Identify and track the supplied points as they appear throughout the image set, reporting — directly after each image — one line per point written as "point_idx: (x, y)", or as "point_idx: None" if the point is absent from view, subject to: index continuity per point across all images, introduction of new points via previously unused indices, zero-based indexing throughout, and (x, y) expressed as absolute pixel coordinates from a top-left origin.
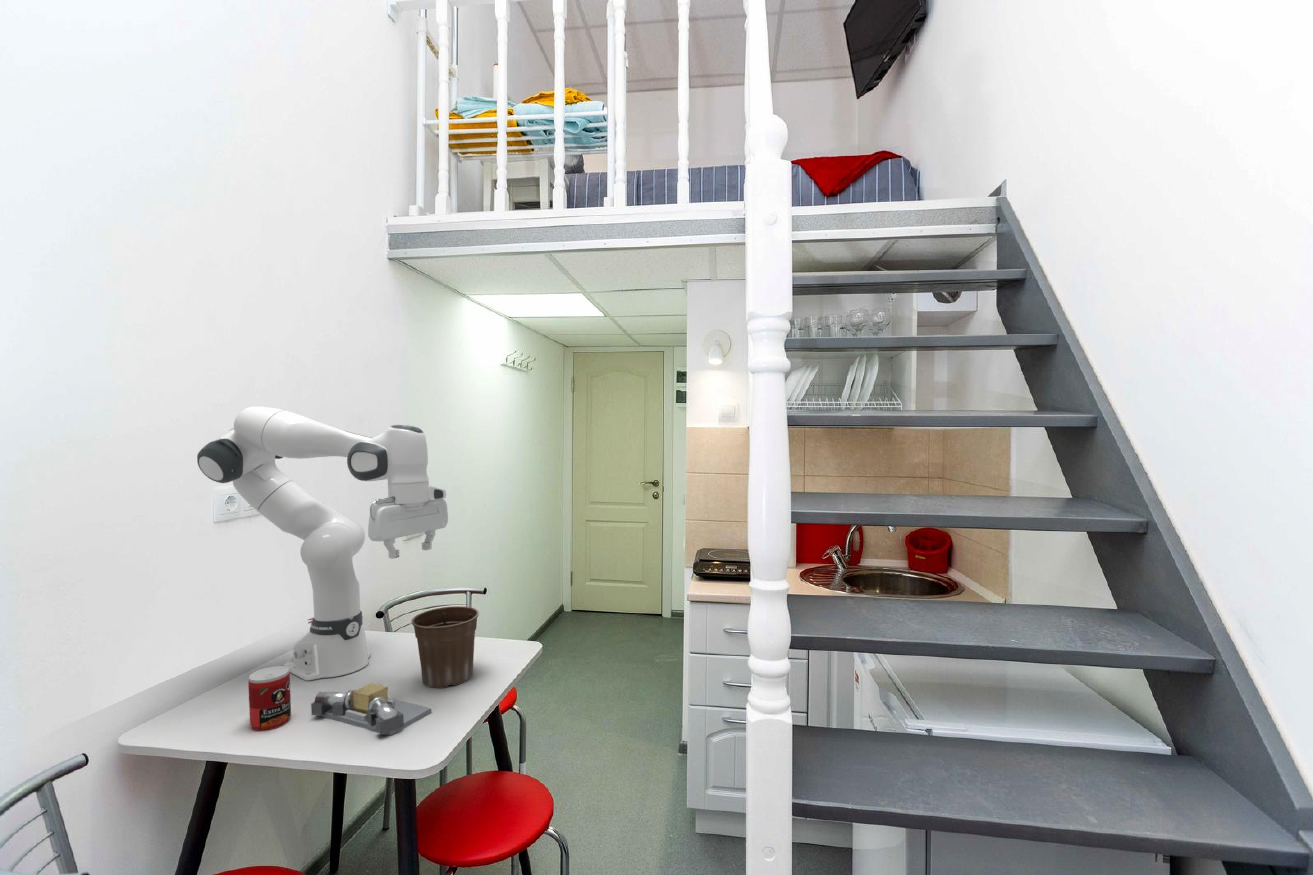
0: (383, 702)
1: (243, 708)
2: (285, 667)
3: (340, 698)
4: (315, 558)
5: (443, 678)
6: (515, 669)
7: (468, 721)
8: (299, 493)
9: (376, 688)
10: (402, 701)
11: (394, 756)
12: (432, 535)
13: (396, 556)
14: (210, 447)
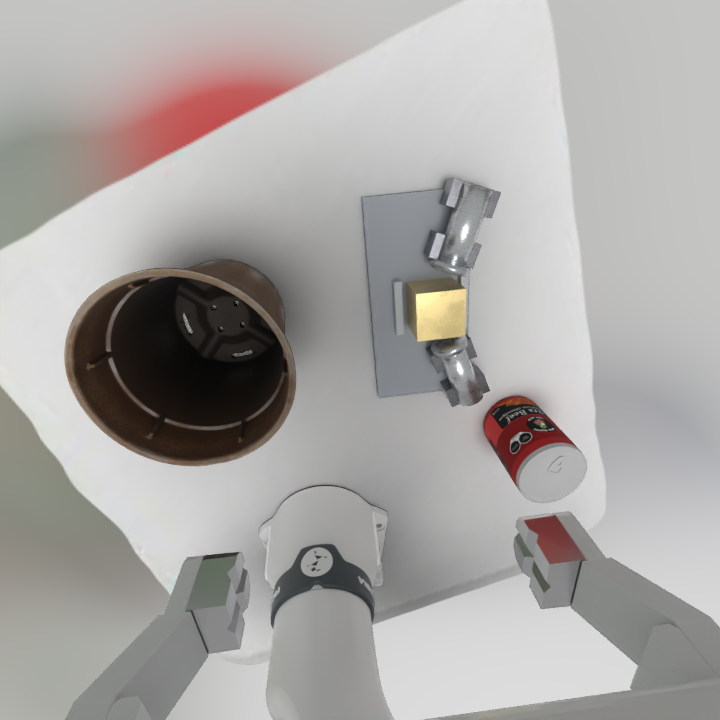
0: (457, 246)
1: (492, 495)
2: (522, 477)
3: (466, 354)
4: None
5: (266, 282)
6: (84, 204)
7: (348, 69)
8: None
9: (433, 306)
10: (371, 284)
11: (526, 96)
12: (121, 690)
13: (550, 518)
14: None
